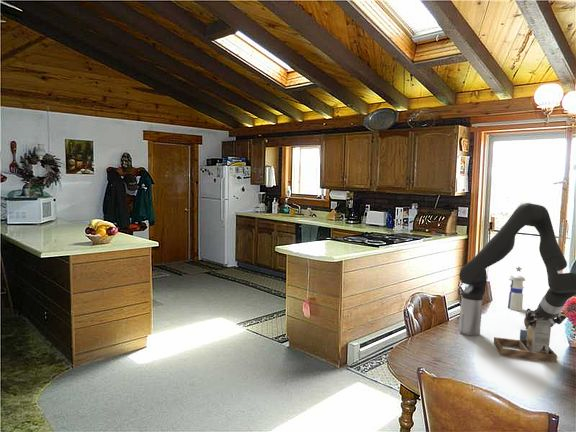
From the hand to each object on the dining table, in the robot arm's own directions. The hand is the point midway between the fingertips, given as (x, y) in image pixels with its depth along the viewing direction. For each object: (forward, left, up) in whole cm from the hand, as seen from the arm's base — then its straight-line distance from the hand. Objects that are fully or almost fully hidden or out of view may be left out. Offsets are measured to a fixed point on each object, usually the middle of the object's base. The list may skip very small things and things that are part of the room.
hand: (539, 324), depth 178 cm
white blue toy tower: (+9, +74, -13) cm, 76 cm away
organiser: (-5, 0, -13) cm, 14 cm away
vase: (+8, +37, -13) cm, 40 cm away
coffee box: (0, 0, -12) cm, 12 cm away
